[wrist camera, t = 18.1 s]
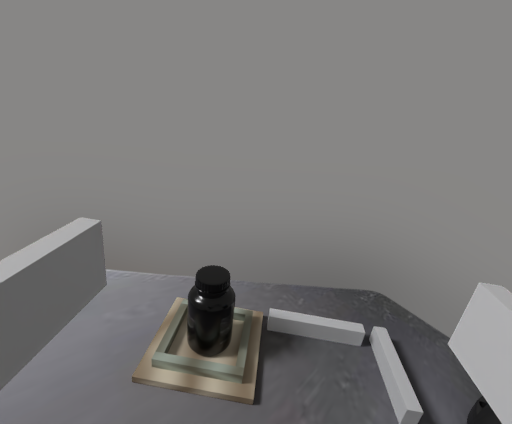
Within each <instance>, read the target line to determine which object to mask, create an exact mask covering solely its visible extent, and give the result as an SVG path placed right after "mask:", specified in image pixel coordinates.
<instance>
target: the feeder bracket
mask: <svg viewBox="0 0 512 424" xmlns="http://www.w3.org/2000/svg"><path fill="white" fill-rule="evenodd" d="M267 330H270V331H275V332H281V333H287V334H292V335H298V336H304V337H309V338H315V339H321V340H326V341H332V342H337V343H343V344H349V345H354V346H361V344H362V341H363V338H364V335H365V331H364V328H363V325H362V324H358V323H352V322H347V321H341V320H335V319H329V318H324V317H318V316H312V315H306V314H300V313H295V312H289V311H283V310H277V309H272V308H270V311H269V316H268V322H267ZM369 341H370V344H371V346H372V349H373V352H374V355H375V358H376V360H377V363H378V366H379V369H380V372H381V374H382V377H383V380H384V383H385V386H386V388H387V391H388V394H389V397H390V400H391V403H392V405H393V408H394V411H395V414H396V417H397V419H398V422H399V424H418V422H419V420H420V418H421V416H422V415H423V410H422V408H421V406H420V404H419V401H418V399H417V397H416V395H415V393H414V390H413V388H412V386H411V384H410V381H409V379H408V377H407V375H406V373H405V370H404V368H403V366H402V364H401V361H400V359H399V357H398V355H397V352H396V350H395V348H394V346H393V344H392V341H391V339H390V337H389V335H388V332H387V330H386V328H381V327H376V326H374V327H373V330H372V333H371V335H370V338H369Z"/></svg>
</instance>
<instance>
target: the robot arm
mask: <svg viewBox="0 0 512 424" xmlns="http://www.w3.org/2000/svg"><path fill="white" fill-rule="evenodd" d="M106 285H107V282H106V271H105V259H104V248H103V236H102V225H101V221H100V220H93V219H87V218H79V219H77V220H75V221H73V222H71V223H69V224H67V225H65V226H64V227H62V228H60V229H58V230H56V231H54V232H53V233H51V234H49V235H47V236H45V237H43V238H41V239H40V240H38V241H36V242H34V243H32V244H30V245H28V246H27V247H25V248H23V249H21V250H19V251H18V252H15V253H14V254H12V255H10V256H9V257H6V258H5V259H3V260H1V261H0V390H1V389H2V388H3V387H4V386H5V385H6V384H7V383H8V382H9V381H10V380H11V379H12V378H13V377H14V376H15V375H16V374H17V373H18V372H19V371H20V370H21V369H22V368H23V367H24V366H25V365H26V364H27V363H28V362H29V361H30V360H31V359H32V358H33V357H34V356H35V355H36V354H37V353H38V352H39V351H40V350H41V349H42V348H43V347H44V346H45V345H46V344H47V343H48V342H49V341H50V340H51V339H52V338H53V337H54V336H55V335H56V334H58V333H59V332H60V331H61V330H62V329H63V328H64V327H65V326H66V325H67V324H68V323H69V322H70V321H71V320H72V319H73V318H74V317H75V316H76V315H77V314H78V313H79V312H80V311H81V310H82V309H83V308H84V307H85V306H86V305H87V304H88V303H89V302H90V301H91V300H92V299H93V298H94V297H95V296H96V295H97V294H98V293H99V292H100V291H101V290H102V289H103V288H104V287H105V286H106ZM448 345H449V347H450V348H451V349H452V351H453V352H454V354H455V355H456V357H457V358H458V360H459V361H460V363H461V364H462V366H463V367H464V369H465V370H466V372H467V373H468V374H469V376H470V377H471V379H472V380H473V382H474V383H475V385H476V386H477V388H478V389H479V391H480V392H481V394H482V395H483V396H482V397H481V398H479V399H478V400H477V401H476V403H475V404H474V406H473V407H472V409H471V411H470V412H469V415H468V419H467V424H512V293H511V292H510V291H508V290H507V289H506V288H505V287H503V286H499V285H493V284H487V283H481V282H479V284H478V286H477V288H476V290H475V292H474V294H473V296H472V298H471V299H470V301H469V303H468V306H467V307H466V309H465V311H464V313H463V315H462V317H461V319H460V321H459V323H458V325H457V327H456V329H455V331H454V333H453V335H452V337H451V339H450V341H449V343H448Z"/></svg>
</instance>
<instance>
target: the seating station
mask: <svg viewBox="0 0 512 424" xmlns="http://www.w3.org/2000/svg"><path fill="white" fill-rule="evenodd" d="M187 310H188V299H184V298H178V297H177V298H176V300H175V302H174V304H173V305H172V307H171V309H170V311H169V312H168V314H167V316H166V318H165V319H164V321H163V323H162V325H161V326H160V328H159V330H158V332H157V333H156V335H155V337H154V339H153V340H152V342H151V344H150V346H149V347H148V349H147V351H146V353H145V354H144V356H143V358H142V360H141V361H140V363H139V365H138V367H137V368H136V370H135V372H134V374H133V375H132V382H135V383H140V384H146V385H151V386H156V387H161V388H167V389H172V390H177V391H182V392H187V393H193V394H198V395H203V396H208V397H214V398H219V399H224V400H229V401H235V402H240V403H245V404H250V405H253V400H254V391H255V382H256V373H257V364H258V355H259V346H260V337H261V328H262V319H263V312H259V311H253V310H247V309H241V308H236V307H235V308H234V318H233V328H232V337H231V342H230V344H229V346H228V347H227V348H226V349H225V350H224V351H223V352H221V353H219V354H217V355H214V356H203V355H199V354H197V353H195V352H194V351H193V350H192V349H191V348H190V347H189V345H188V342H187Z"/></svg>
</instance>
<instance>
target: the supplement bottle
mask: <svg viewBox="0 0 512 424" xmlns="http://www.w3.org/2000/svg"><path fill="white" fill-rule="evenodd" d="M234 308H235V293H234V290H233V289H232V287H231V286H230V273H229V271H228V270H226V269H225V268H223V267H221V266H214V265H213V266H212V265H211V266H205V267H202V268H201V269H200V270H198V272H197V274H196V281H195V285H194V286H193V287H192V289H191V290H190V292H189V294H188V310H187V342H188V345H189V347H190V348H191V349H192V350H193V351H194V352H195V353H197V354H199V355H203V356H214V355H217V354H219V353H221V352H223V351H224V350H225V349H226V348H227V347H228V346H229V344H230V342H231V337H232V328H233V318H234Z"/></svg>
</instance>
